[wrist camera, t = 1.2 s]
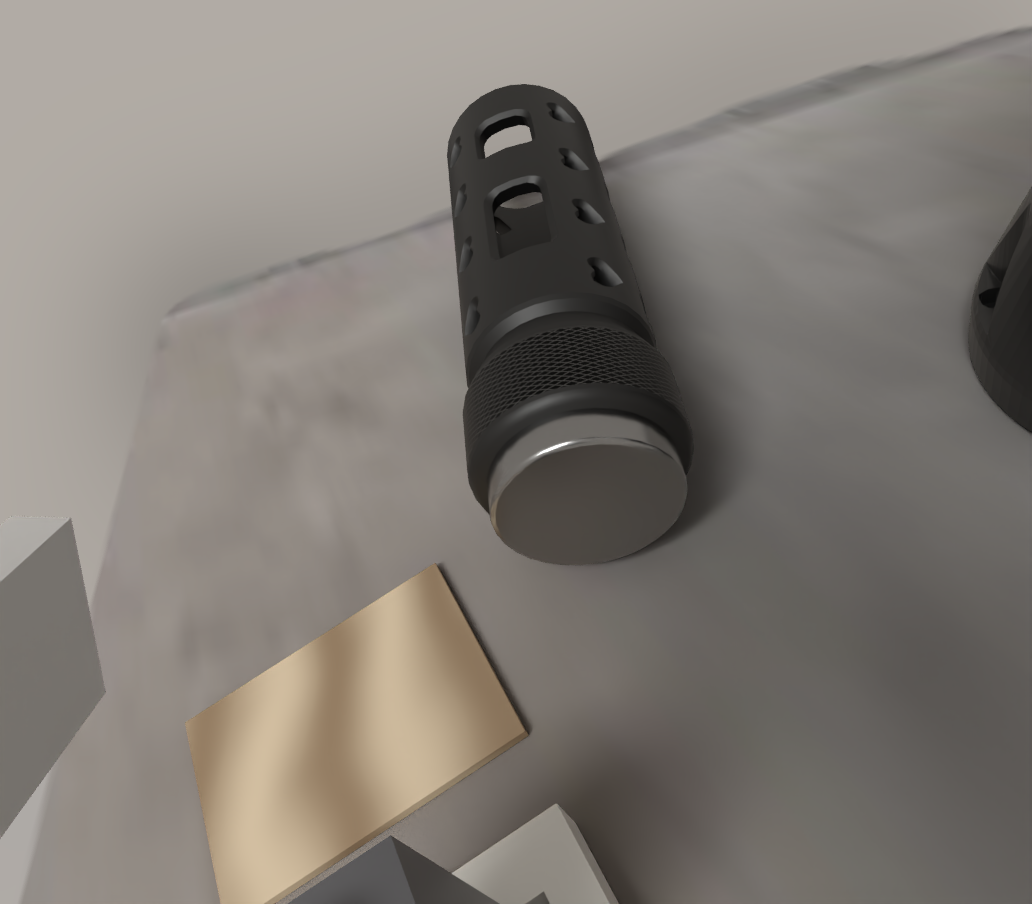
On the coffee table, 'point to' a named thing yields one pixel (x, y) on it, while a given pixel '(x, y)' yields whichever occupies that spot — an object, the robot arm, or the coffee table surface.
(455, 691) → the wooden board
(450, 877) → the grey rectangular pillar
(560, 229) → the muzzle brake
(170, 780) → the coffee table surface
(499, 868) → the socket block
